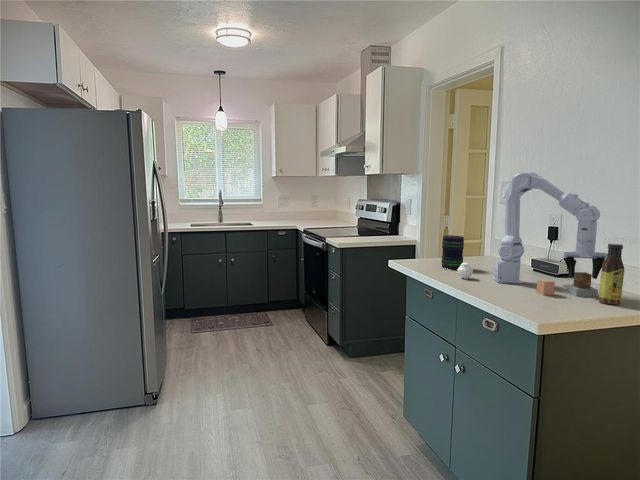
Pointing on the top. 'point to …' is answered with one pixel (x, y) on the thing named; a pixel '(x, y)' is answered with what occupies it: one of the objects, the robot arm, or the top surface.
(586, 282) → the walnut block
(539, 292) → the terracotta block
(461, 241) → the storage jar
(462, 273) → the white rounded piece
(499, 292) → the top surface
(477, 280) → the top surface
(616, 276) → the sauce bottle
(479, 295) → the top surface
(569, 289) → the pedestal block
